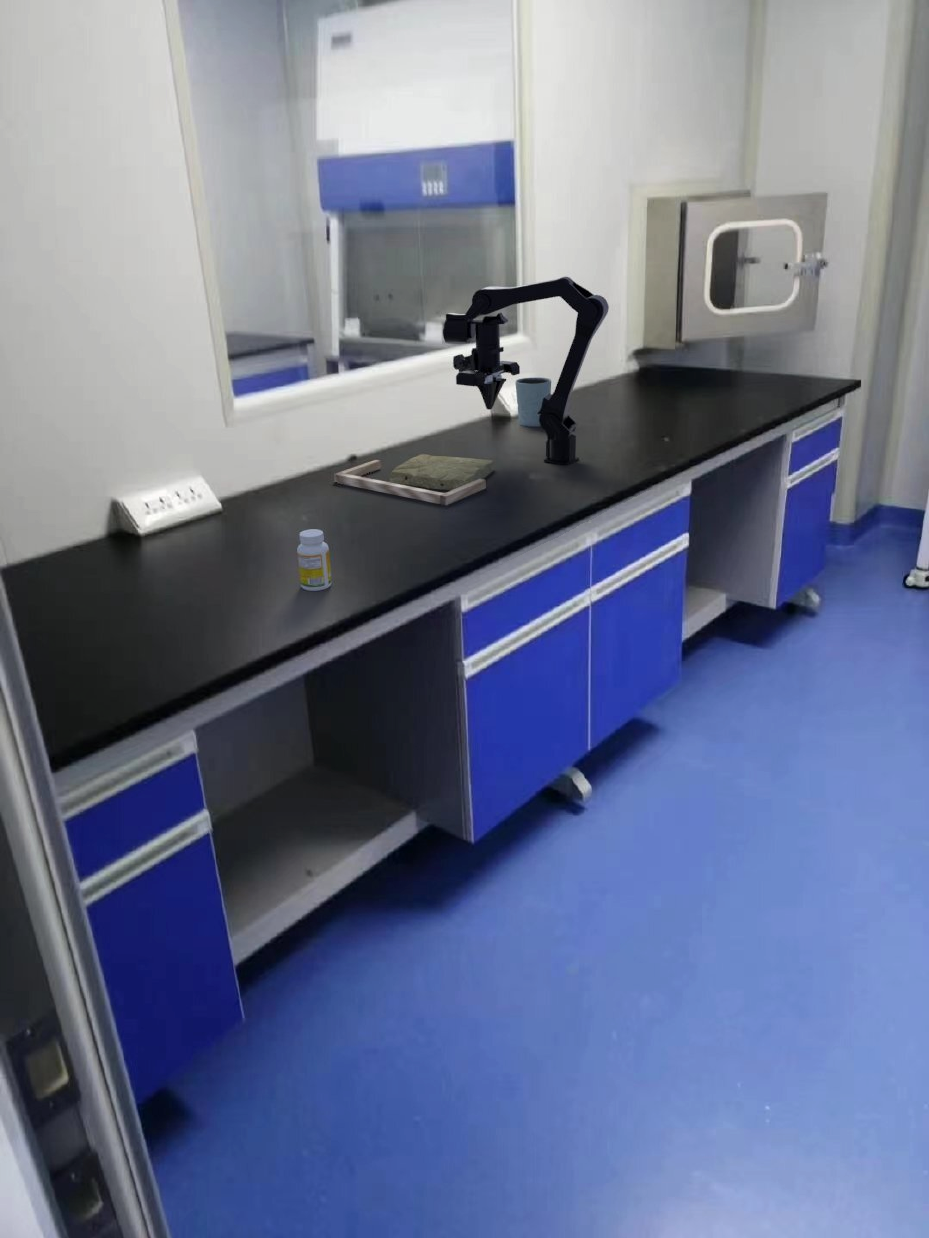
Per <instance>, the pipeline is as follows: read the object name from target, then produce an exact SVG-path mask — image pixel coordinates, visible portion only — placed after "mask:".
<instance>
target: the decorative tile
mask: <svg viewBox="0 0 929 1238" xmlns="http://www.w3.org/2000/svg"><path fill="white" fill-rule="evenodd" d="M494 466H495V464H494V461H493V460H490V459H479V458H472V457H470V458H469V457H458V456H457V457H456V456H454V457H453V456H446V455H445V456H444V455H443V456H441V455H440V456H439V455H438V456H437V455H430V454H423V453H421V454H418V455H417V456H415V457H411V458H410V459H408V460H406V461H404V462H403V463H401V464H399V465H397V466H396V467H395V468H394V469H393V470H392V471H391V473H390V478H389V482H390V483H395V484H400V485H405V486H412V487H421V488H424V489H425V488H426V489H433V490H444V491H446V490H447V491H451V490H454V489H456V488H459V487H461V486H463V485H466V484H468V483H471V482H473V481H476V480H478V479H486V477H488V476H489V475H490V474H492V473H493V472H494V471H495V467H494Z"/></svg>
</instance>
